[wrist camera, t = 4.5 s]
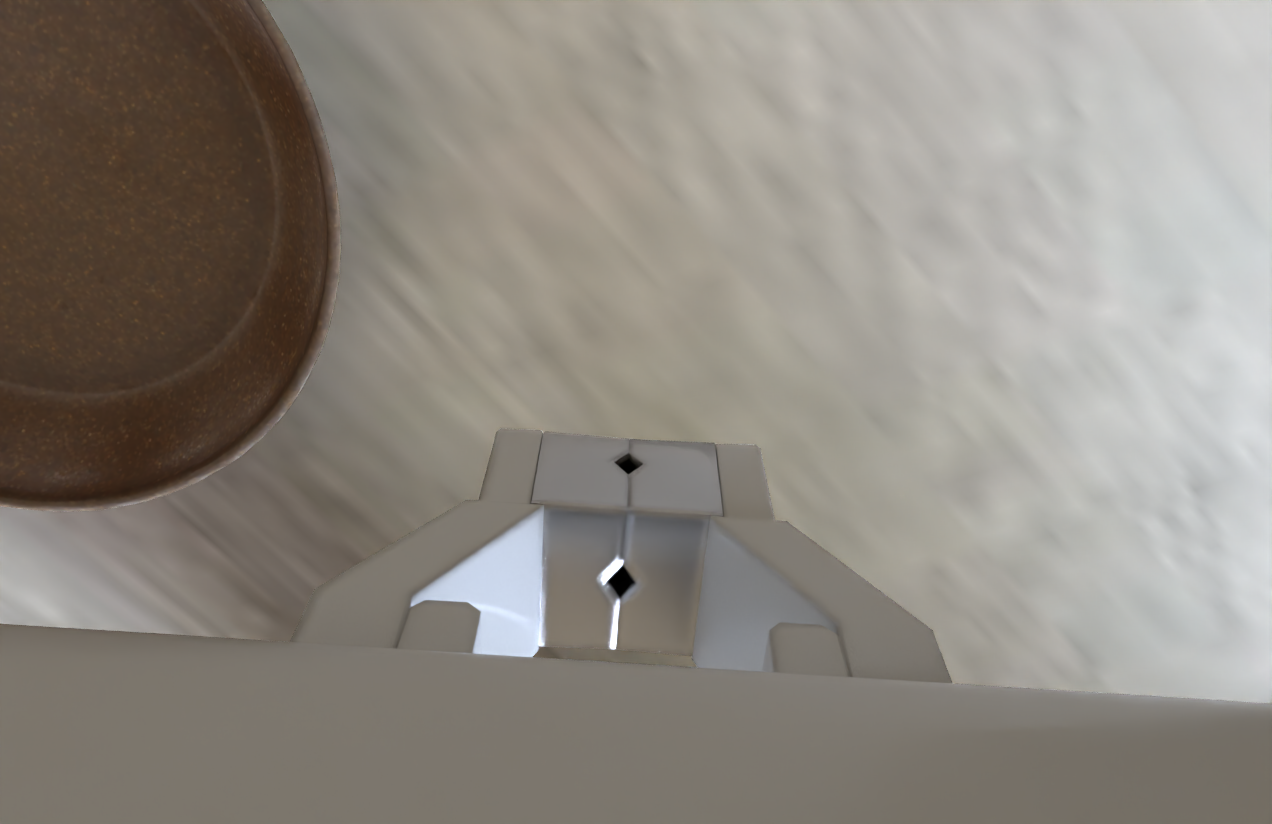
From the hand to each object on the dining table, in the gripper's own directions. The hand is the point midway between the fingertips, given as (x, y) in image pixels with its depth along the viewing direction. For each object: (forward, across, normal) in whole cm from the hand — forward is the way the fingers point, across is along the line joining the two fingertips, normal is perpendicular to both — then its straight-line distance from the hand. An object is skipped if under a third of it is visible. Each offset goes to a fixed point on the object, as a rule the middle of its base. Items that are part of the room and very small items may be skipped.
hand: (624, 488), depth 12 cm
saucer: (+12, +13, 0) cm, 18 cm away
